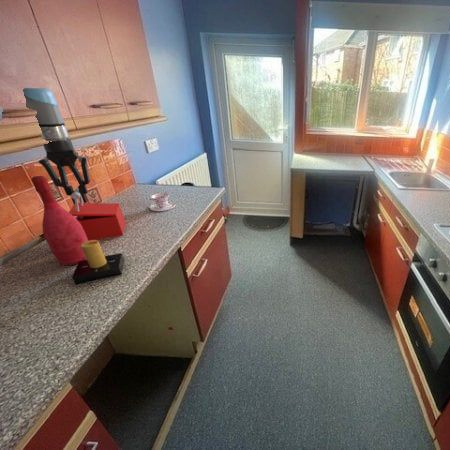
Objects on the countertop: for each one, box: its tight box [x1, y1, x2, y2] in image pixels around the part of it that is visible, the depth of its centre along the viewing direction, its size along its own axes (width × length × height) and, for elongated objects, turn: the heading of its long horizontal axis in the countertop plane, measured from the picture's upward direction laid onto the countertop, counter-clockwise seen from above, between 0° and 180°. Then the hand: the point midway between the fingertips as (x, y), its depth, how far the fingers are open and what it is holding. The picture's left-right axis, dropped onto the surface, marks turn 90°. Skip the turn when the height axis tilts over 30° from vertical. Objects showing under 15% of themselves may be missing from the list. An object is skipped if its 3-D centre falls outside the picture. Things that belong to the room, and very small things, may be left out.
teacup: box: [149, 192, 176, 212], centre depth 127 cm, size 12×12×6 cm
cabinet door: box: [68, 187, 121, 217], centre depth 98 cm, size 15×12×8 cm
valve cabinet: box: [75, 205, 127, 241], centre depth 103 cm, size 14×12×9 cm
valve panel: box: [71, 252, 125, 286], centre depth 82 cm, size 12×9×3 cm
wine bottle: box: [31, 175, 88, 266], centre depth 81 cm, size 10×10×30 cm
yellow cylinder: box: [81, 239, 107, 268], centre depth 79 cm, size 4×4×8 cm
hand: (81, 202), depth 96 cm, fingers closed on cabinet door, 2 cm apart
